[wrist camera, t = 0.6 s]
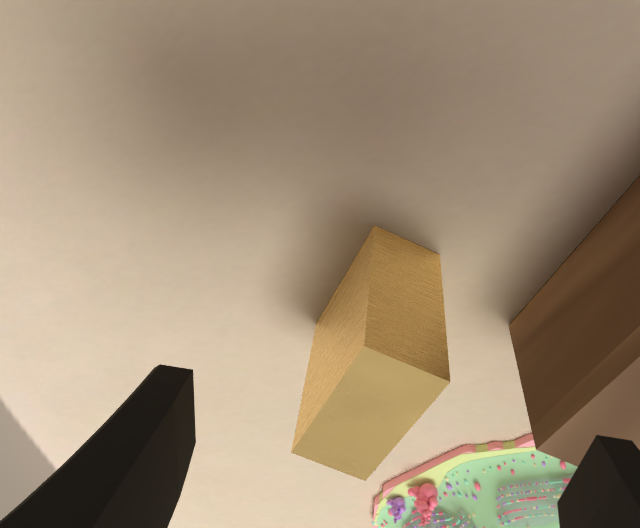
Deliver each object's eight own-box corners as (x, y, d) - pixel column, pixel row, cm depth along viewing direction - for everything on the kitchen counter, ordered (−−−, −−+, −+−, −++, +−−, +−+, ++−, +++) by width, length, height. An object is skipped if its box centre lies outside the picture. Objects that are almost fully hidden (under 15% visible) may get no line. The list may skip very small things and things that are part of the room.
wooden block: (439, 254, 20) (450, 381, 15) (374, 347, 23) (365, 480, 18) (374, 225, 20) (364, 346, 15) (316, 323, 23) (290, 452, 18)
